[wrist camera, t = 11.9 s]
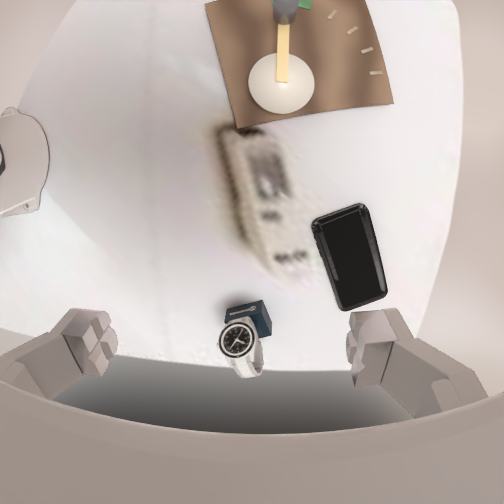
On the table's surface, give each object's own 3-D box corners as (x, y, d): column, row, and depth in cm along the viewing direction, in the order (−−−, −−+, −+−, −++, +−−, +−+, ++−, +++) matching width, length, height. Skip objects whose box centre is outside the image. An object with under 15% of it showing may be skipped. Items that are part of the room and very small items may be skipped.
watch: (257, 288, 42) (253, 339, 32) (275, 330, 45) (275, 383, 35) (221, 298, 44) (208, 349, 34) (241, 338, 47) (234, 391, 37)
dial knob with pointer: (310, 116, 31) (323, 114, 23) (248, 112, 31) (241, 108, 23) (313, 11, 25) (325, -17, 18) (252, 7, 26) (247, -23, 18)
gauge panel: (238, 128, 34) (237, 128, 32) (207, 7, 27) (204, 3, 25) (389, 104, 31) (394, 103, 29) (355, -14, 24) (358, -18, 23)
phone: (366, 202, 36) (388, 295, 41) (363, 200, 37) (386, 291, 42) (308, 223, 37) (340, 313, 43) (307, 220, 38) (338, 309, 44)
